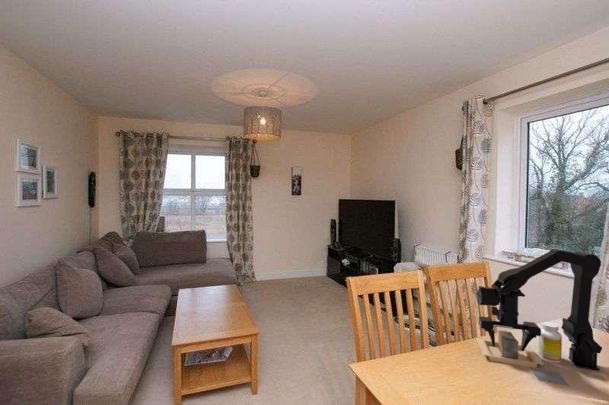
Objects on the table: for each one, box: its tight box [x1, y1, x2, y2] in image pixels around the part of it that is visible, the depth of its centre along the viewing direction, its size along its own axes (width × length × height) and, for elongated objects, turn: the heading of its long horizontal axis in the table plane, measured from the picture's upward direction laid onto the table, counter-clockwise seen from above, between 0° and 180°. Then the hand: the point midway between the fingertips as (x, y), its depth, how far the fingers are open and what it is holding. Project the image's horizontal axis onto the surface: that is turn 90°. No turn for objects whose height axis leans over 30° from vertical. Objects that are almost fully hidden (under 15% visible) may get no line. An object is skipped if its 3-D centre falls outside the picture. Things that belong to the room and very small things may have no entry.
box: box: [497, 330, 519, 359], centre depth 115 cm, size 4×9×7 cm, turn 161°
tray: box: [476, 338, 545, 368], centre depth 115 cm, size 18×13×2 cm
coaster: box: [529, 367, 571, 387], centre depth 102 cm, size 8×8×1 cm
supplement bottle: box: [537, 321, 563, 364], centre depth 113 cm, size 7×7×13 cm
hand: (507, 348), depth 115 cm, fingers open, 9 cm apart
